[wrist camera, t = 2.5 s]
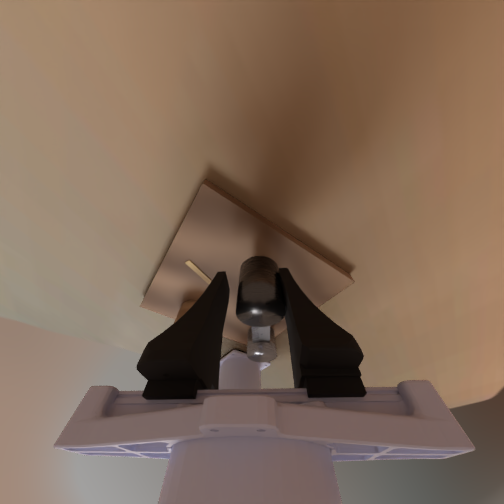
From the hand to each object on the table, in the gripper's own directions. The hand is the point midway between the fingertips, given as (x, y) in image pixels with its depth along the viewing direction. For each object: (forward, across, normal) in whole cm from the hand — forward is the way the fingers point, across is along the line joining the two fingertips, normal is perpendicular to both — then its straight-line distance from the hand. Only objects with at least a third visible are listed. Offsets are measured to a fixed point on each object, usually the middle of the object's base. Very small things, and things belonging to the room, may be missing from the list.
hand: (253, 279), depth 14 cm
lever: (+3, 0, +7) cm, 7 cm away
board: (+5, +2, +6) cm, 8 cm away
